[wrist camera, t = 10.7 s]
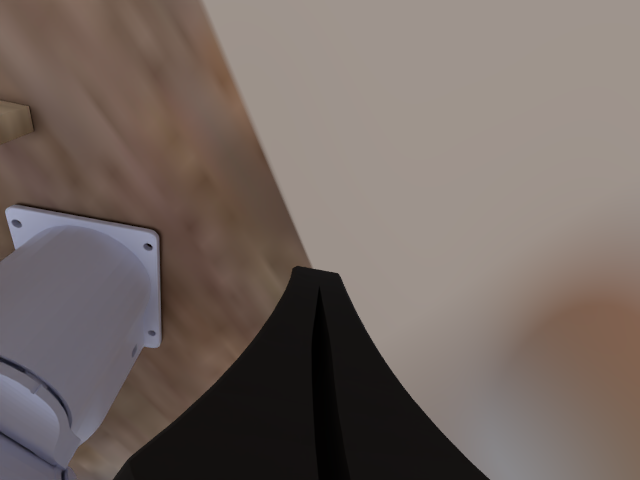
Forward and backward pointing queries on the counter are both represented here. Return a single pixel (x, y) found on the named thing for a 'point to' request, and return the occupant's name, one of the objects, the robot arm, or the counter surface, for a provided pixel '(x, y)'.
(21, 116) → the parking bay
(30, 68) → the counter surface
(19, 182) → the counter surface
